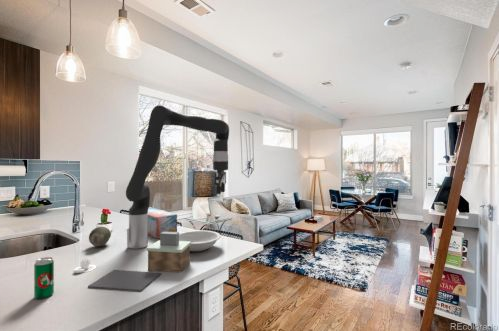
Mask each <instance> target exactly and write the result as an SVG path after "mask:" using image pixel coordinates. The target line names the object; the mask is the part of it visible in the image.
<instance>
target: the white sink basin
mask: <svg viewBox="0 0 499 331" xmlns="http://www.w3.org/2000/svg"><path fill="white" fill-rule="evenodd" d="M220 238H221V234H220V233H219V232H216V231H212V230H203V229H201V230H200V229H199V230H189V231H183V232H179V241H190V242H191V245H190V252H202V251H206V250H208V249H209V250H210V248H212V247H213V246H214V245H216V243H217V241H218V240H220Z"/></svg>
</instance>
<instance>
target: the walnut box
mask: <svg viewBox="0 0 499 331" xmlns="http://www.w3.org/2000/svg"><path fill="white" fill-rule="evenodd" d="M190 253H191V251H190V246H189V247H187V248H186V249H185V250H184V251H183V252H182V253H177V252H157V251H147V270H148V271H155V272H156V271H158V272H170V273H171V272H173V273H182V271H183V270H185V268H186V267H187V266H188V265H190V262H191V261H190V260H191V258H190V257H191V254H190Z"/></svg>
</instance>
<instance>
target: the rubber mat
mask: <svg viewBox="0 0 499 331" xmlns="http://www.w3.org/2000/svg"><path fill="white" fill-rule="evenodd" d="M161 274H162V273H161V272H159V271H158V272H156V271H155V272H152V271H139V270H138V271H137V270H125V269H124V270H122V269H121V270H120V269H113V270H111V271H109V272H108V273H107V274H105V275H103V276H101V277H100V278H98V279H97V280H95V281H93V282H92V283H90V284H89V285H88V286H87V288H88V289H89V288H90V289H101V290H114V291H115V290H116V291H128V292H129V291H130V292H139V293H140V292H142V291H144V290H145V289H146V288H147V287H148V286H149V285H150V284H151V283H152V282H154V281H155V280H156V279H157V278H159V277H160V276H161Z"/></svg>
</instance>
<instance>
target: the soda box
mask: <svg viewBox="0 0 499 331" xmlns="http://www.w3.org/2000/svg"><path fill="white" fill-rule="evenodd" d="M162 232H178V214H177V213H173V212H169V211H168V210H167V211H166V210H162V209H159V208H155V207H153V206H152V207H151V206H149V209H148V236H150V237H152V238H155V239H160V233H162Z"/></svg>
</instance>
